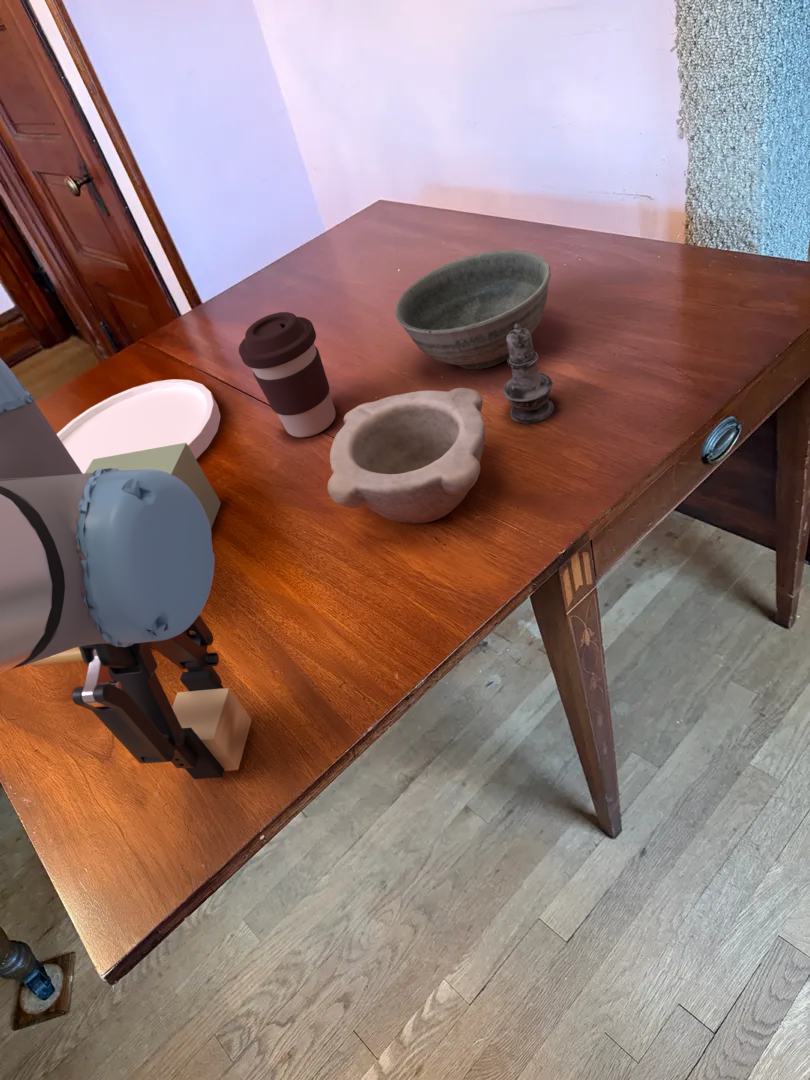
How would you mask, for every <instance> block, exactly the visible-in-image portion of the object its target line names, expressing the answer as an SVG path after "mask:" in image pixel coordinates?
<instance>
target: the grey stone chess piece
mask: <svg viewBox="0 0 810 1080" xmlns="http://www.w3.org/2000/svg"><path fill="white" fill-rule="evenodd" d="M519 327H520V325H518V324H517V323H516V324H515V326H514V328H515V329H513V330H512V331H510V332H509V334H508V335H507V345H508V350H509V355H510V357H509V358H508V359H506V362H507V365H508V366H509V367H510V369H511V373H512V378H510V379H509V380H508V381H507V382H505V384H504V386H503V389H502V392H503V395H504V397H505V398H506V399H507V401H508V402H509V403H510V405H511V406H512V407H511V409H510V412H509V414H510V418H511V420H512V421H514V422H515V423H518V424H522V425H531V424H532V425H533V424H537V423H540V422H542V421H545V420H546V419H547V418H549V417H550V416H551V415H552V413H554V409H555V405H554V403H553V401H551V400H550V399H549V398H550V395H551V391H552V388H553V384H554V383H553V380H552V377H550V376H549V375H548V374H546V373H543V372H539V369H538V365H537V362H538V361H537V360H538V359H539V355H538V353H537V352H536V351H535V350H534V344H533V339H532V334H531V333H530V332H529V330H527V329H525V328H519Z"/></svg>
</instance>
